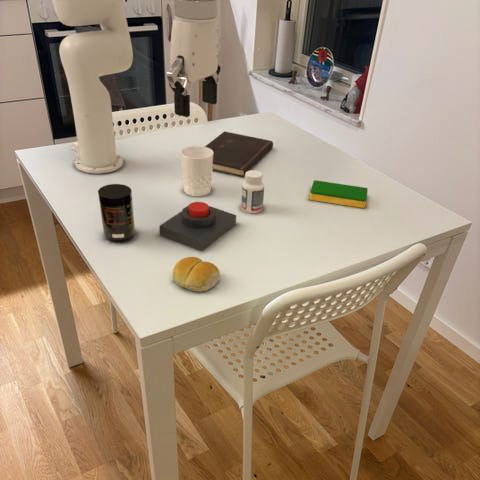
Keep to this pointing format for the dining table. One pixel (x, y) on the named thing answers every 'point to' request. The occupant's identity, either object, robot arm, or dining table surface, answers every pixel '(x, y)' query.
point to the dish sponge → (339, 194)
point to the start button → (198, 209)
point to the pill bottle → (252, 192)
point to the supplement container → (117, 212)
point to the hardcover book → (237, 152)
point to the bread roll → (195, 274)
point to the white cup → (197, 170)
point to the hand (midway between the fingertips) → (196, 109)
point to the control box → (197, 227)
